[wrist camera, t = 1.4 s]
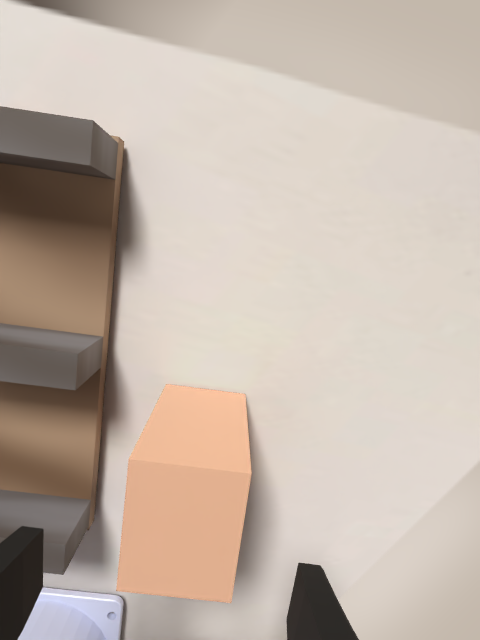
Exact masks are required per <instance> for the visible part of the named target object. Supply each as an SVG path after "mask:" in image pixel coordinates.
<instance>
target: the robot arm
mask: <svg viewBox="0 0 480 640" xmlns="http://www.w3.org/2000/svg"><path fill="white" fill-rule="evenodd" d="M43 538H44V529H42V528H35V527H27V526H21V527H20V528H18V529H17V530H16V531H14V532H13V533H12V534H11V535H9V536H8V537H7V538H6V539H4V540H3V541H2V542H1V543H0V640H120V634H121V624H122V614H123V604H124V603H123V600H122V598H121V597H119V596H117V595H110V594H101V593H91V592H82V591H72V590H63V589H53V588H44V587H43ZM111 612H114V613H111ZM287 640H359V639H358V638H357V636H356V634H355V632H354V631H353V629H352V627H351V625H350V623H349V621H348V619H347V617H346V615H345V613H344V611H343V609H342V607H341V606H340V604H339V602H338V600H337V598H336V596H335V594H334V591H333V589H332V587H331V585H330V583H329V581H328V579H327V577H326V575H325V572H324V570H323V569H322V567H321V566H320V565H313V564H305V563H298V568H297V573H296V578H295V582H294V587H293V592H292V596H291V601H290V606H289V611H288V615H287Z"/></svg>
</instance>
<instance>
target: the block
mask: <svg viewBox="0 0 480 640" xmlns="http://www.w3.org/2000/svg"><path fill="white" fill-rule="evenodd" d="M251 474H252V473H251V460H250V447H249V434H248V421H247V408H246V395H245V394H240V393H232V392H224V391H216V390H208V389H201V388H193V387H185V386H177V385H169V384H166V385H165V387H164V389H163V391H162V393H161V395H160V397H159V399H158V401H157V403H156V405H155V407H154V409H153V411H152V413H151V415H150V418H149V420H148V422H147V424H146V426H145V428H144V430H143V432H142V434H141V436H140V438H139V440H138V442H137V444H136V446H135V448H134V450H133V452H132V454H131V456H130V458H129V462H128V472H127V483H126V494H125V504H124V515H123V525H122V536H121V546H120V557H119V567H118V578H117V589H116V591H122V592H131V593H141V594H150V595H160V596H169V597H179V598H189V599H198V600H208V601H217V602H227V603H231V600H232V594H233V588H234V582H235V575H236V569H237V563H238V556H239V550H240V544H241V537H242V531H243V525H244V518H245V512H246V506H247V499H248V493H249V487H250V480H251Z"/></svg>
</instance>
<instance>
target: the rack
mask: <svg viewBox="0 0 480 640" xmlns="http://www.w3.org/2000/svg"><path fill="white" fill-rule="evenodd" d="M123 149H124V141H123V140H122V139H121V138H119V137H116V136H110V135H109V134H108V133H106V132H105V131H104V130H103V129H102V128H101V127H100V126H99V125H98V124H96V123H95V122H94V121H93V120H87V119H80V118H74V117H67V116H60V115H54V114H47V113H41V112H34V111H28V110H21V109H14V108H8V107H1V106H0V543H1V542H2V541H3V540H4V539H6V538H7V537H8V536H9V535H11V534H12V533H13V532H14V531H16V530H17V529H18V528H20V527H21V526H27V527H35V528H42V529H44V538H43V573H53V574H62V575H63V574H64V572H65V571H66V569H67V567H68V565H69V563H70V561H71V559H72V557H73V555H74V553H75V551H76V550H77V548H78V546H79V544H80V542H81V540H82V538H83V536H84V534H85V532H86V530H89V528H90V526H91V524H92V522H93V521H94V513H95V501H96V488H97V476H98V463H99V451H100V438H101V425H102V413H103V400H104V388H105V375H106V363H107V350H108V337H109V325H110V312H111V300H112V287H113V275H114V262H115V249H116V237H117V224H118V212H119V199H120V187H121V174H122V162H123Z"/></svg>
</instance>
